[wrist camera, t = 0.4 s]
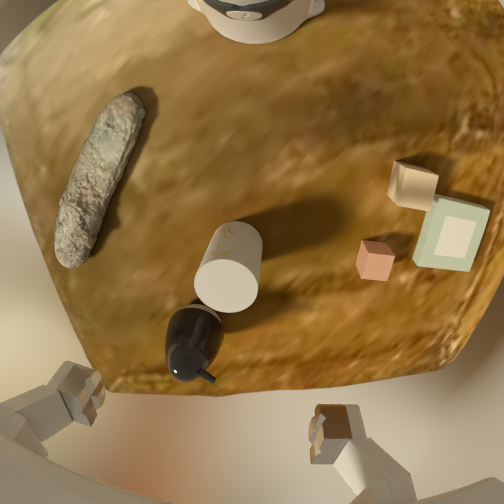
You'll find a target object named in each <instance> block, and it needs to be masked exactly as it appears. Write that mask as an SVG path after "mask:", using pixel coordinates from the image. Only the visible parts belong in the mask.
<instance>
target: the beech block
mask: <svg viewBox="0 0 504 504" xmlns="http://www.w3.org/2000/svg"><path fill="white" fill-rule="evenodd" d="M438 177H439V176H438V175H437V174H435V173H433V172H432V171H430V170H428V169H426V168H424V167H420V166H416V165H412V164H407V163H403V162H398V161H394V164H393V169H392V174H391V179H390V184H389V189H388V193H387V195H388V196H389V197H390V198H391V199H392V200H393V201H394V202H395V203H396V204H397V205H398V206H403V207H408V208H414V209H419V210H424V211H430V209H431V206H432V202H433V198H434V194H435V190H436V186H437V181H438Z"/></svg>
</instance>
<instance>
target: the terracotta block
mask: <svg viewBox="0 0 504 504" xmlns="http://www.w3.org/2000/svg"><path fill="white" fill-rule="evenodd" d="M394 258H395V255H394V253H393V252H392V250H391V249H390V247H389V246H388V244H387V243H382V242H374V241H366V240H362V241H361V245H360V249H359V253H358V257H357V261H356V267H357V269H358V272H359V274H360V277H361V279H371V280H382V281H387V280H388V277H389V274H390V271H391V268H392V264H393V261H394Z"/></svg>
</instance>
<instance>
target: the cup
mask: <svg viewBox="0 0 504 504" xmlns="http://www.w3.org/2000/svg"><path fill="white" fill-rule="evenodd" d="M262 247H263V244H262V239H261V236H260V234H259V233H258V231H257V230H256V229H255V228H254V227H252V226H251V225H249V224H247V223H244V222H239V221H232V222H228V223H225V224H223V225H221V226H220V227H219V228H218V229H217V230H216V231H215V233H214V235H213V237H212V239H211V242H210V244H209V246H208V248H207V251H206V253H205V255H204V257H203V260H202V262H201V264H200V267H199V269H198V271H197V273H196V276H195V280H194V287H195V291H196V293H197V295H198V297H199V298H200V300H201V301H202V302H203V303H204V304H206V305H207V306H208V307H210V308H212V309H214V310H217V311H220V312H226V313H232V312H238V311H242V310H244V309H246V308H247V307H249V306H250V305H251V304H252V303H253V302H254V300H255V299H256V296H257V293H258V284H259V275H260V266H261V257H262Z"/></svg>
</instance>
